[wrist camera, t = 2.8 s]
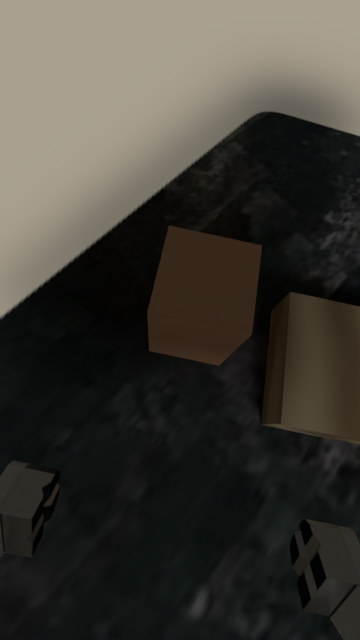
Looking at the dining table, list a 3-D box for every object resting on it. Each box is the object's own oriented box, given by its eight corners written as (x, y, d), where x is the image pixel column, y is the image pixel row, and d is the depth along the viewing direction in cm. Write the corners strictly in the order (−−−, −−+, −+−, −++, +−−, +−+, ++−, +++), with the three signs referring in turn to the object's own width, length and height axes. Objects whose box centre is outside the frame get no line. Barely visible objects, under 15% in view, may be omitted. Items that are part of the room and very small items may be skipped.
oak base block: (378, 333, 28) (413, 318, 24) (382, 449, 24) (425, 453, 20) (271, 310, 27) (290, 291, 24) (261, 424, 24) (281, 423, 20)
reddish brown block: (228, 301, 27) (262, 245, 19) (218, 365, 25) (251, 334, 17) (164, 287, 27) (169, 225, 19) (149, 350, 25) (147, 312, 17)
